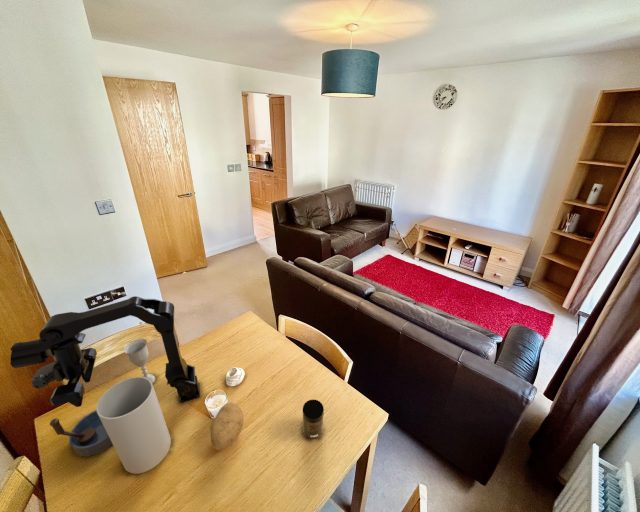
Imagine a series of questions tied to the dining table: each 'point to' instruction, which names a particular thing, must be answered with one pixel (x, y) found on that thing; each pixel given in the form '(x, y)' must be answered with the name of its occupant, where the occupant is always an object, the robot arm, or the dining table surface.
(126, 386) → the cylinder vase
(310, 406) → the supplement container
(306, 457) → the dining table surface
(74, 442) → the bowl
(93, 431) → the ladle
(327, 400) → the dining table surface
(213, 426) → the potato
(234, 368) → the whipped cream
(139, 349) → the chalice
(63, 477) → the dining table surface
